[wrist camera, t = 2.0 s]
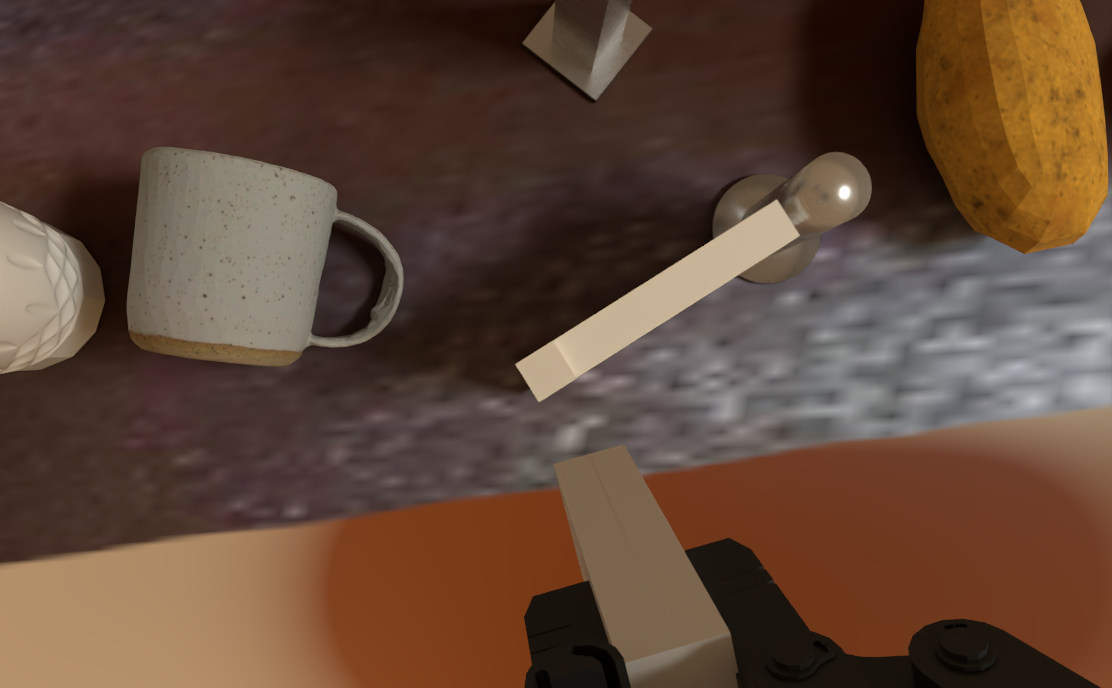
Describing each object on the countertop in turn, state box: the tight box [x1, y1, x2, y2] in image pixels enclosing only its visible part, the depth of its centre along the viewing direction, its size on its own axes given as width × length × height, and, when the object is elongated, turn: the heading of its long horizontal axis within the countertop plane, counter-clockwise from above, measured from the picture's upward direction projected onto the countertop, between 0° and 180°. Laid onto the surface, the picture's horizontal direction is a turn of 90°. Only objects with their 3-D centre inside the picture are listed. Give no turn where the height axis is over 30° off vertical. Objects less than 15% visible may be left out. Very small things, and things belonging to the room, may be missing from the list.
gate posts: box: [522, 0, 872, 284], centre depth 34 cm, size 18×5×12 cm, turn 43°
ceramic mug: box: [127, 147, 403, 366], centre depth 35 cm, size 11×8×8 cm
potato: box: [916, 0, 1108, 254], centre depth 37 cm, size 8×14×7 cm, turn 6°
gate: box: [515, 200, 800, 402], centre depth 34 cm, size 12×2×9 cm, turn 122°
